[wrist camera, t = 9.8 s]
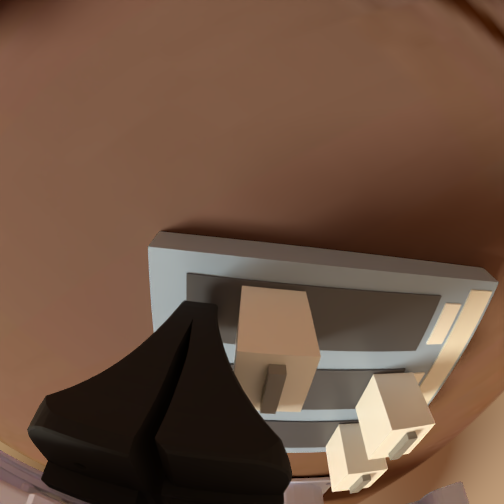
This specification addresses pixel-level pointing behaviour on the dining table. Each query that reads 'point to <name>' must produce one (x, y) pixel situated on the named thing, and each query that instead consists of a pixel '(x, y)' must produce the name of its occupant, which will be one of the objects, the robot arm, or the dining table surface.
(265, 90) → the dining table surface
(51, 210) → the dining table surface
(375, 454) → the tab middle
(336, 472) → the tab
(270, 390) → the tab
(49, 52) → the dining table surface
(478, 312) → the switch bank
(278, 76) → the dining table surface
